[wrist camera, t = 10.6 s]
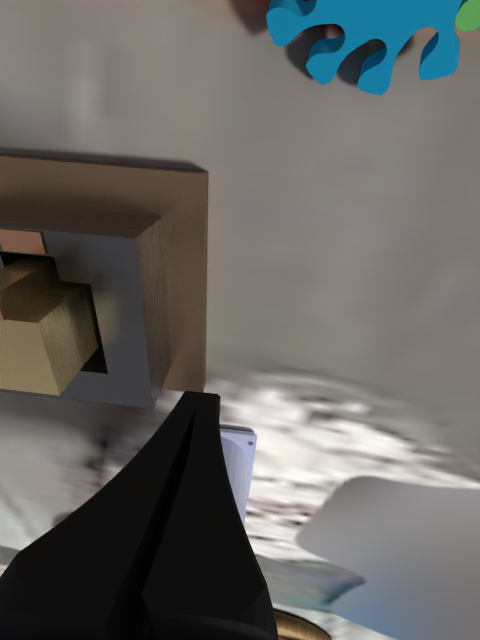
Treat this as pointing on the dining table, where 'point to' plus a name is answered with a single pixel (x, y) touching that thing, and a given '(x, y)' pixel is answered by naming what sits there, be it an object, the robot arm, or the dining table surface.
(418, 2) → the gear
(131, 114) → the dining table surface
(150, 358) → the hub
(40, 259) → the keyed shaft
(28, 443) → the dining table surface
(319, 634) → the wooden plate with food
